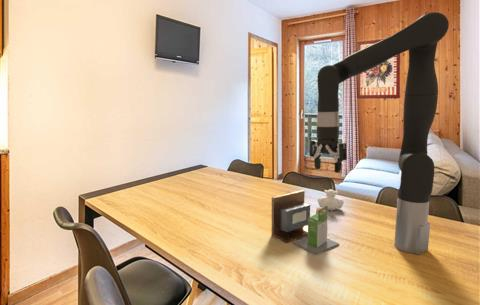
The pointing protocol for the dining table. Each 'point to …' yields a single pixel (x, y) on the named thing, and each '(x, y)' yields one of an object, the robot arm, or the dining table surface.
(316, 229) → the ink box
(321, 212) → the brown egg
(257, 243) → the dining table surface
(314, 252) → the mat
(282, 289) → the dining table surface
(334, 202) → the bust
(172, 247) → the dining table surface
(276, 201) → the open brown box
